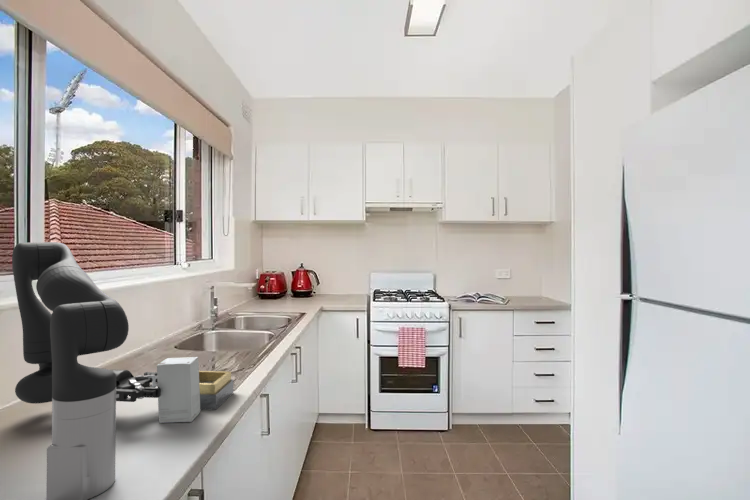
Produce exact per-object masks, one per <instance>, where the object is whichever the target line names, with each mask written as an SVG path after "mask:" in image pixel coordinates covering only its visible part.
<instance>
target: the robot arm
mask: <svg viewBox="0 0 750 500" xmlns="http://www.w3.org/2000/svg"><path fill="white" fill-rule="evenodd" d="M11 254H12V257H11V259H12V260H11V263H12V273H13V274H12V275H13V281H14V287H15V293H16V299H17V305H18V310H19V313H20V319H21V326H22V327H21V328H22V350H23V351H22V352H23V360H24V362H26V364H29V365H30V364H31V365H38V366H39V367H38V368H39V369H38V370H37V371H34V372H32V373H30V374H28V375H25V376H24V377H22V378H21V379H20V380H19V381H18V382H17V383H16V386H15V388H14V391H15V392H14V393H15V395H16V397H17V398H18V399H19V400H20V401H22V402H23V403H26V404H35V405H36V404H37V405H38V404H46V403H51V444H50V445H49V446H47V448H46V482H45V483H46V485H45V486H46V492H45V494H46V498H45V499H46V500H89V499H91V498H94V497H96V496H99V495H100V494H103V493H104V492H105V491H107V490H108V489H110V488H111V487H112V486H113V484H114V483H115V482H116V448H117V447H116V446H117V444H116V440H117V439H116V438H117V437H116V436H117V434H116V433H117V431H116V429H117V423H116V422H117V420H116V419H117V402H127V403H134V402H137V399H138V400H143V399H144V398H149V399H151V398H153V399H158V397H160V396H161V389H160V388H158V382H157V371H155V372H154V371H146V372H143V374H139V375H135V376H134V375H133V373H132V372H131V371H130V370H129V369H108V368H104V367H103V368H102V367H92V366H88V365H87V366H86V365H83V364H81V363H79V361H78V357H79V356H86V355H90V354H91V355H92V354H97V353H103V352H104V353H105V352H108V351H112V350H115V349H118V348H119V347H120V346H122V345H123V344H124V343H125V341H126V340H127V338H128V335H129V321H128V316H127V315H126V311H125V310H124V308H123V307H122V305H121V304H120V303H119V302H118V301H116V300H115V299H114V298H113V297H111V296H110V295H108V294H107V293H105V292H104V291H102V290H101V289H100V288H99V287H98V286H97V285H96V284H95V283H94V280H93V279H92V278H91V277H90V276H89V275H88V274H87V273H86V271H84V270H83V268H81V267H80V265H79V263H78V262H77V261H76V259H75V257H74V254H73V253H72V250H71V249H70V247H68V246H67V245H66V244H65V243H61V242H59V241H57V242H56V241H46V242H44V241H43V242H41V241H40V242H34V241H33V242H19V243H17V244H16V245H15V246H14V248H13V251H12V253H11ZM33 281H36V292H37V294H38V296H39V298H38V297H37V295H36V294H35V291H34V288H33ZM39 299H40V300H41V301H40V300H39ZM48 309H49V310H50V311H51V312H52V313H51V312H50V311H49V310H48Z"/></svg>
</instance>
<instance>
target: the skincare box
mask: <svg viewBox="0 0 750 500" xmlns="http://www.w3.org/2000/svg"><path fill="white" fill-rule="evenodd" d="M199 362H200V361H199V356H191V357H190V356H189V357H187V356H186V357H167V358H165V359H164V360H162V361H161V362H159V363H158V364H156V372H157V382H158V386H157V388H160V389H161V396H160V397H158V398H157V405H158V423H159V424H163V423H164V424H165V423H166V424H167V423H168V424H169V423H191V422H193V421H194V419H196V418H197V417H198V415H200V414H201V409H200V388H199V371H200V367H199V365H200V364H199Z"/></svg>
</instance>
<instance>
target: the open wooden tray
mask: <svg viewBox="0 0 750 500" xmlns="http://www.w3.org/2000/svg"><path fill="white" fill-rule="evenodd" d="M199 388H200V410H204V409H212V411H214V410H215V411H216V410H217V409H218V408H219V407H220V406H221V405H222V404H224V403H225V401H227V399H228V397H229V396H230V395H231V396H232V395H233V394H234V378H233V379H232V371H228V370H227V371H222V370H221V371H219V370H218V371H217V370H199ZM232 393H233V394H232ZM229 398H230V397H229Z"/></svg>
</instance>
